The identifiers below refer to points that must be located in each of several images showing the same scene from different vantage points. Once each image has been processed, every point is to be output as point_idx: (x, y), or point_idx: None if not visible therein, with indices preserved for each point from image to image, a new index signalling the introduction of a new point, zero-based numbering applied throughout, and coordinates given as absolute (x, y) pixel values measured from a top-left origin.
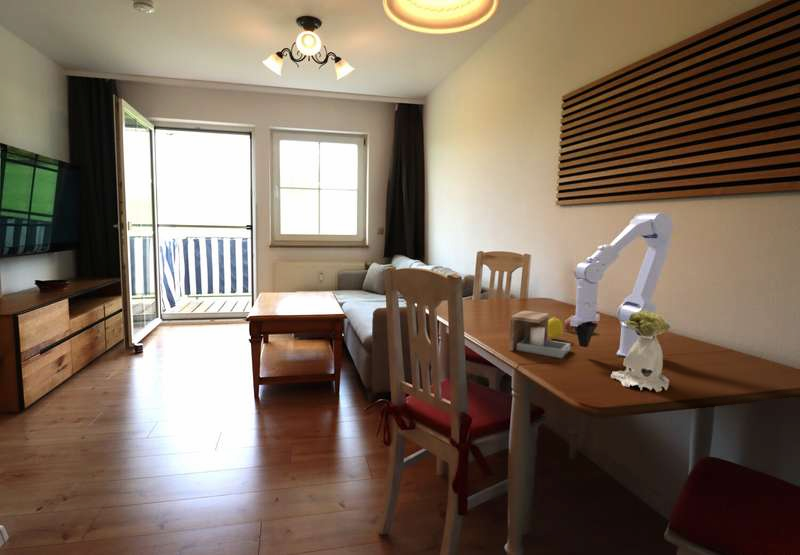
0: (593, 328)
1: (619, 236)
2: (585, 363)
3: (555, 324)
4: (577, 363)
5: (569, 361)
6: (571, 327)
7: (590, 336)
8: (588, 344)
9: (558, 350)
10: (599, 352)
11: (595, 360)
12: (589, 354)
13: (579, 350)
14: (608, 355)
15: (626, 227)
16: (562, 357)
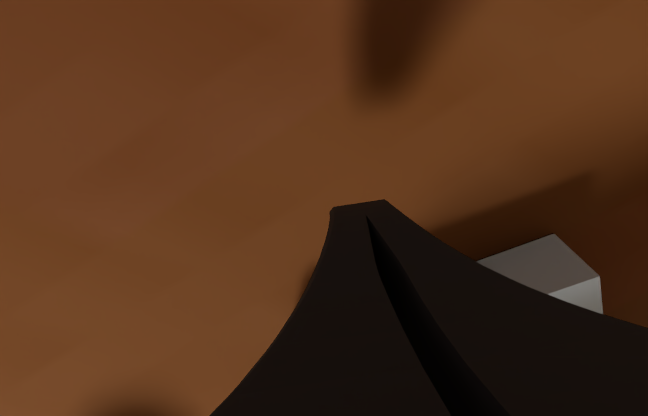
0: (394, 384)
1: None
2: (558, 20)
3: None
4: (617, 66)
5: (601, 146)
6: None
7: (354, 273)
8: (344, 213)
9: (596, 297)
10: (47, 198)
11: (358, 33)
12: (215, 200)
13: (193, 310)
14: (31, 81)
15: None
16: (531, 242)
